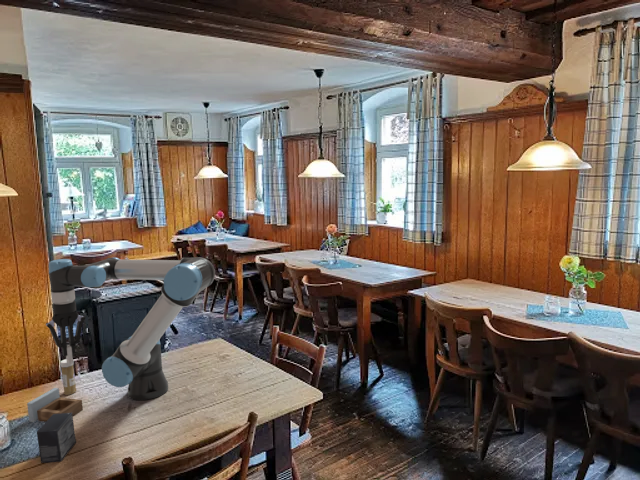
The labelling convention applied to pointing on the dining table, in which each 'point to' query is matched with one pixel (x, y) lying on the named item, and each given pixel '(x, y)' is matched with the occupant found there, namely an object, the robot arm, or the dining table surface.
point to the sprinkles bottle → (68, 377)
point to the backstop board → (41, 403)
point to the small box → (56, 437)
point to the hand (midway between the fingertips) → (69, 362)
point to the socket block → (59, 408)
